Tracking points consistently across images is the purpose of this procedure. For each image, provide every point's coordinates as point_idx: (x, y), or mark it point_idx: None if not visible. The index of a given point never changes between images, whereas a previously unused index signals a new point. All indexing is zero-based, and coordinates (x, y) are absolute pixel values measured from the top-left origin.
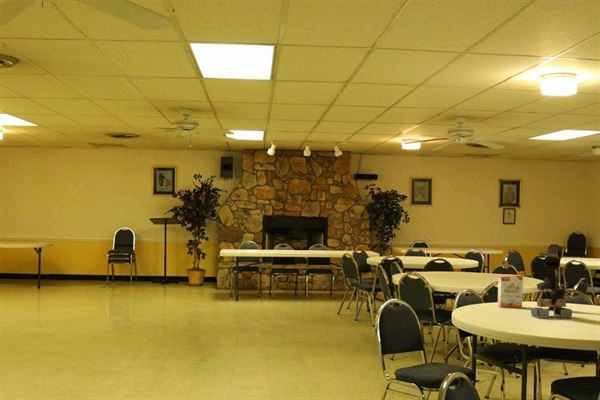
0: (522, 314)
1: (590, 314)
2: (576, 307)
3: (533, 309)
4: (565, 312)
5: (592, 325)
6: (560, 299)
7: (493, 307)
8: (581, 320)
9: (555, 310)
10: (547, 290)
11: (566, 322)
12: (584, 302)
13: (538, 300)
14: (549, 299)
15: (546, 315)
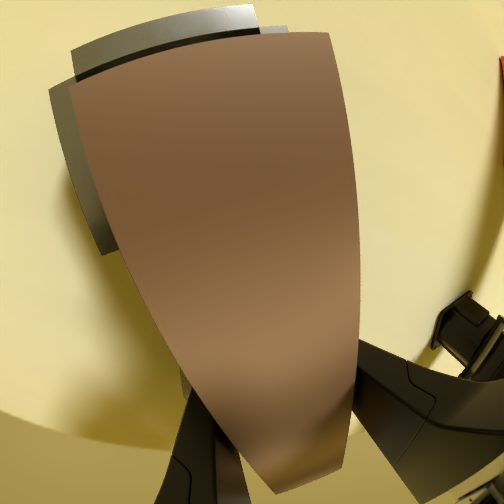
0: (334, 18)
1: (352, 428)
2: (456, 374)
3: (172, 20)
4: None
5: (21, 414)
6: (313, 470)
7: (490, 22)
8: (158, 418)
9: None
10: (493, 488)
11: (10, 321)
12: None
13: (213, 52)
14: (300, 397)
15: None
